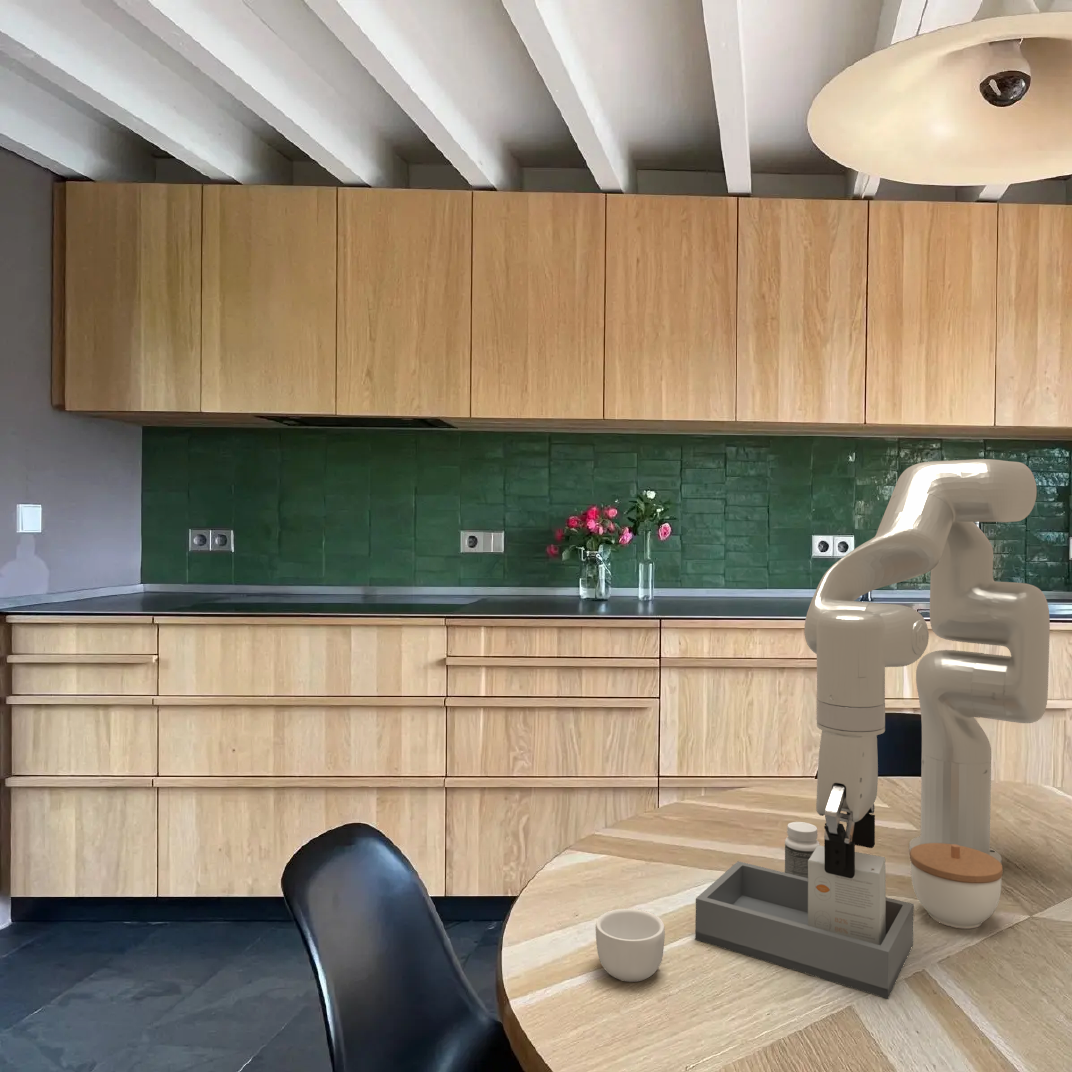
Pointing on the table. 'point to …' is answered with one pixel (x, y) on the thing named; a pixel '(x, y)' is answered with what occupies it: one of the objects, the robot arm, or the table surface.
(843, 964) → the tote
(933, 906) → the lidded jar
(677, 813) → the table surface
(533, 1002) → the table surface
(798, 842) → the pill bottle
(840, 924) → the small box
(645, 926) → the teacup
